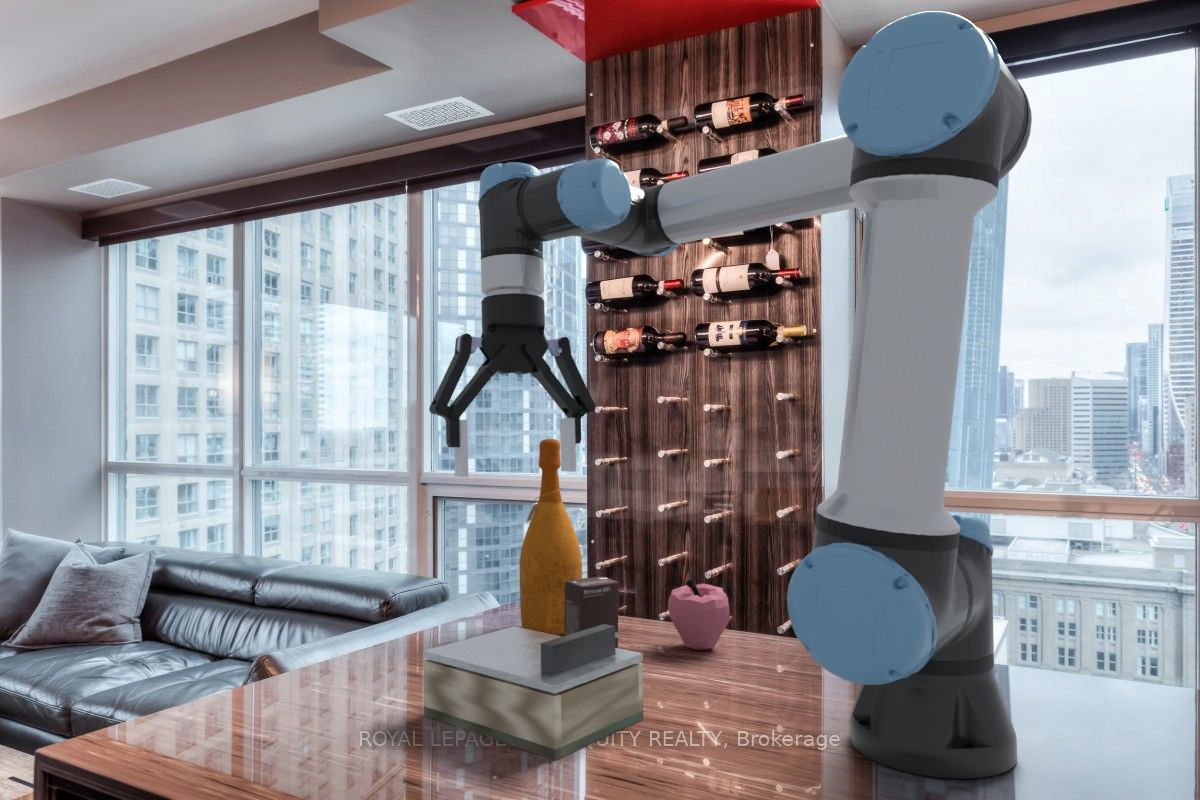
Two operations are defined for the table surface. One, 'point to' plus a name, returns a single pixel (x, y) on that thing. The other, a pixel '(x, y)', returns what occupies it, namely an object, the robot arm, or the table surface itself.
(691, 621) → the apple
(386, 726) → the table surface
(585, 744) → the case
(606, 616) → the box
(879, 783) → the table surface
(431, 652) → the cover plate
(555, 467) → the wine bottle
